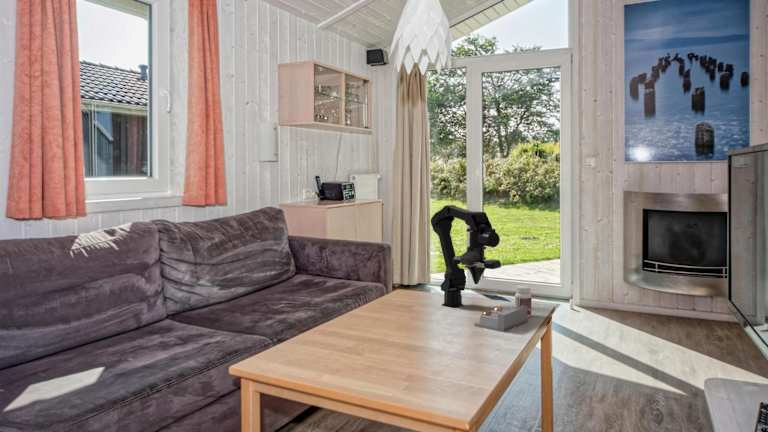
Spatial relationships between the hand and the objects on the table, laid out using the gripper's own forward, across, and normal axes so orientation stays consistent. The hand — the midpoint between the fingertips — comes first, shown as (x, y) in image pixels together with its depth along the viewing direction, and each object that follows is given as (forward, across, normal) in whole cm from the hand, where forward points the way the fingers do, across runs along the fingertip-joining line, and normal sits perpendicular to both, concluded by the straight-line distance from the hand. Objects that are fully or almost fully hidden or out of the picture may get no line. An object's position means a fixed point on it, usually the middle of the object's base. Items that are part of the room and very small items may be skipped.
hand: (476, 283), depth 218 cm
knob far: (+11, +14, -2) cm, 18 cm away
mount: (+12, +15, -6) cm, 20 cm away
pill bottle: (+12, +15, +10) cm, 22 cm away
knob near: (+10, +14, -10) cm, 20 cm away
